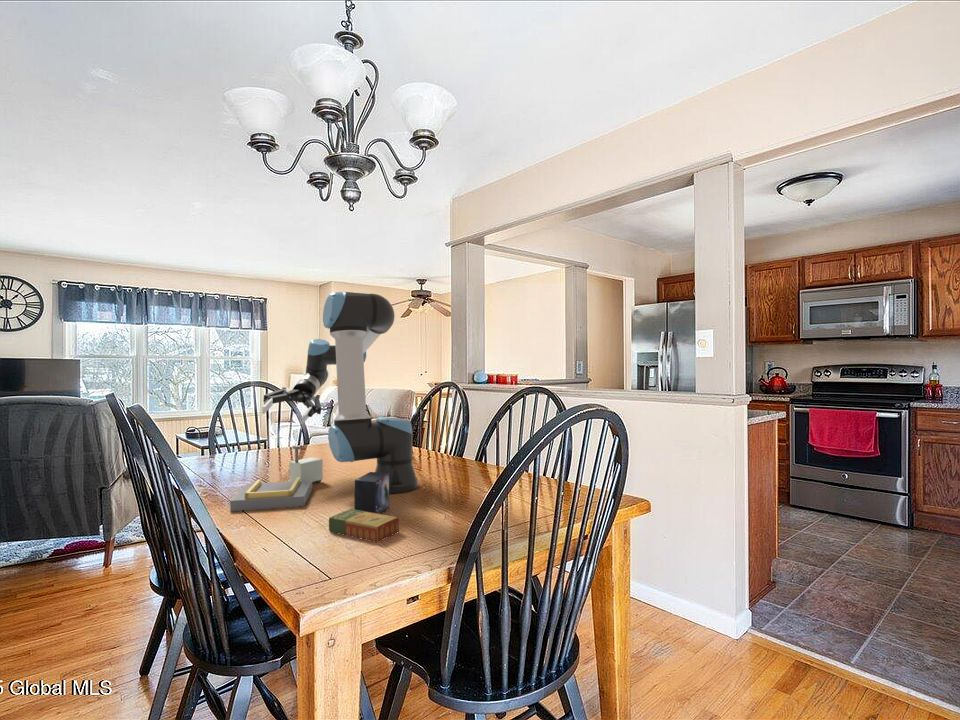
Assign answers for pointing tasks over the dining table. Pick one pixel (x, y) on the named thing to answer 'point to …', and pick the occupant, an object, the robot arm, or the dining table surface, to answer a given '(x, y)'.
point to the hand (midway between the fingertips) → (283, 414)
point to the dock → (272, 495)
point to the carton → (364, 524)
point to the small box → (372, 492)
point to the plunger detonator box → (306, 468)
